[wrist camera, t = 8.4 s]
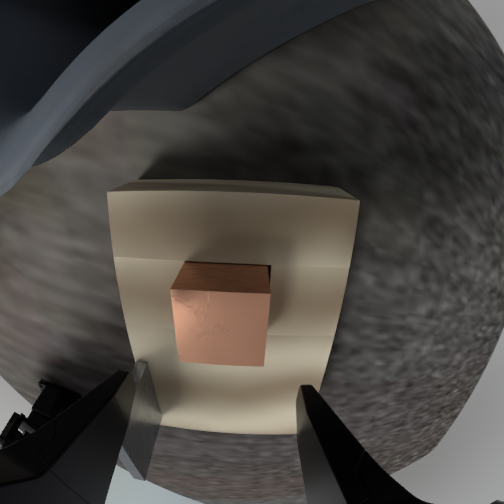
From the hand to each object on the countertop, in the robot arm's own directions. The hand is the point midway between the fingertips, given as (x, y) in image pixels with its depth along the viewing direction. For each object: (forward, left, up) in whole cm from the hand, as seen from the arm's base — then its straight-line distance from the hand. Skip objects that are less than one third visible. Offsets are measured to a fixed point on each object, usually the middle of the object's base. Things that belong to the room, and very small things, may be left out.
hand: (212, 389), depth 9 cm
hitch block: (-4, 0, -10) cm, 11 cm away
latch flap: (-8, +5, -3) cm, 10 cm away
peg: (0, 0, -10) cm, 10 cm away
